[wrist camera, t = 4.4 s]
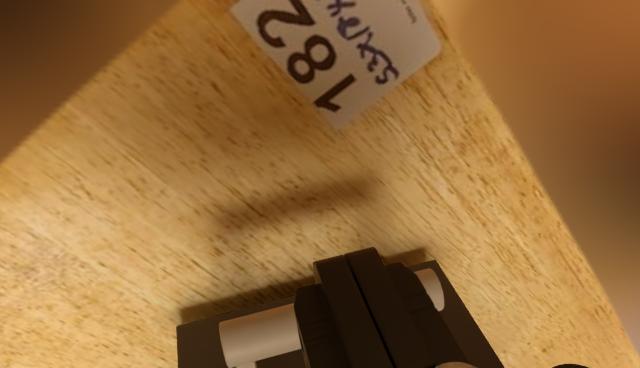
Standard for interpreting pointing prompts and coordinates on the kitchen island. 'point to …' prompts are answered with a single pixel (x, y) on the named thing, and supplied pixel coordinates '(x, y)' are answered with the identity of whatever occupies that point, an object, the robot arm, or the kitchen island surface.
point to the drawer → (283, 339)
